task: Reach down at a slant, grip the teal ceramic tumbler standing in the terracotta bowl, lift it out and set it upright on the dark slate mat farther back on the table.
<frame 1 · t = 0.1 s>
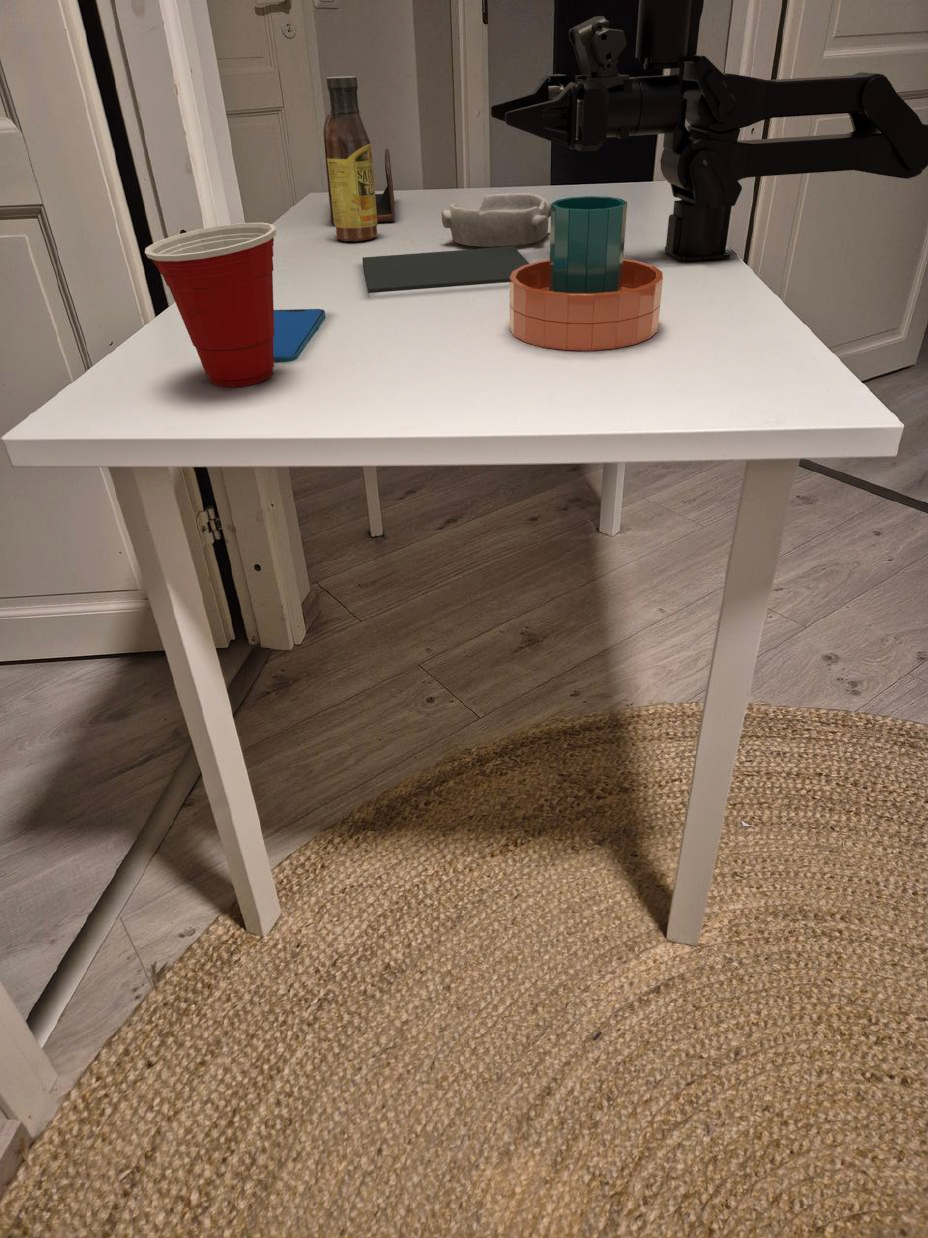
hand: (498, 114, 93), 17 cm above the table, tool horizontal, fingers open, 9 cm apart
letter holder: (365, 213, 137), on the table
dish: (501, 241, 116), on the table
mat: (447, 274, 102), on the table
sauce bottle: (357, 239, 121), on the table
bowl: (582, 333, 81), on the table
tumbler: (583, 326, 81), point 1 cm above the table, touching bowl
plastic cup: (239, 378, 75), on the table
smartphone: (278, 342, 84), on the table
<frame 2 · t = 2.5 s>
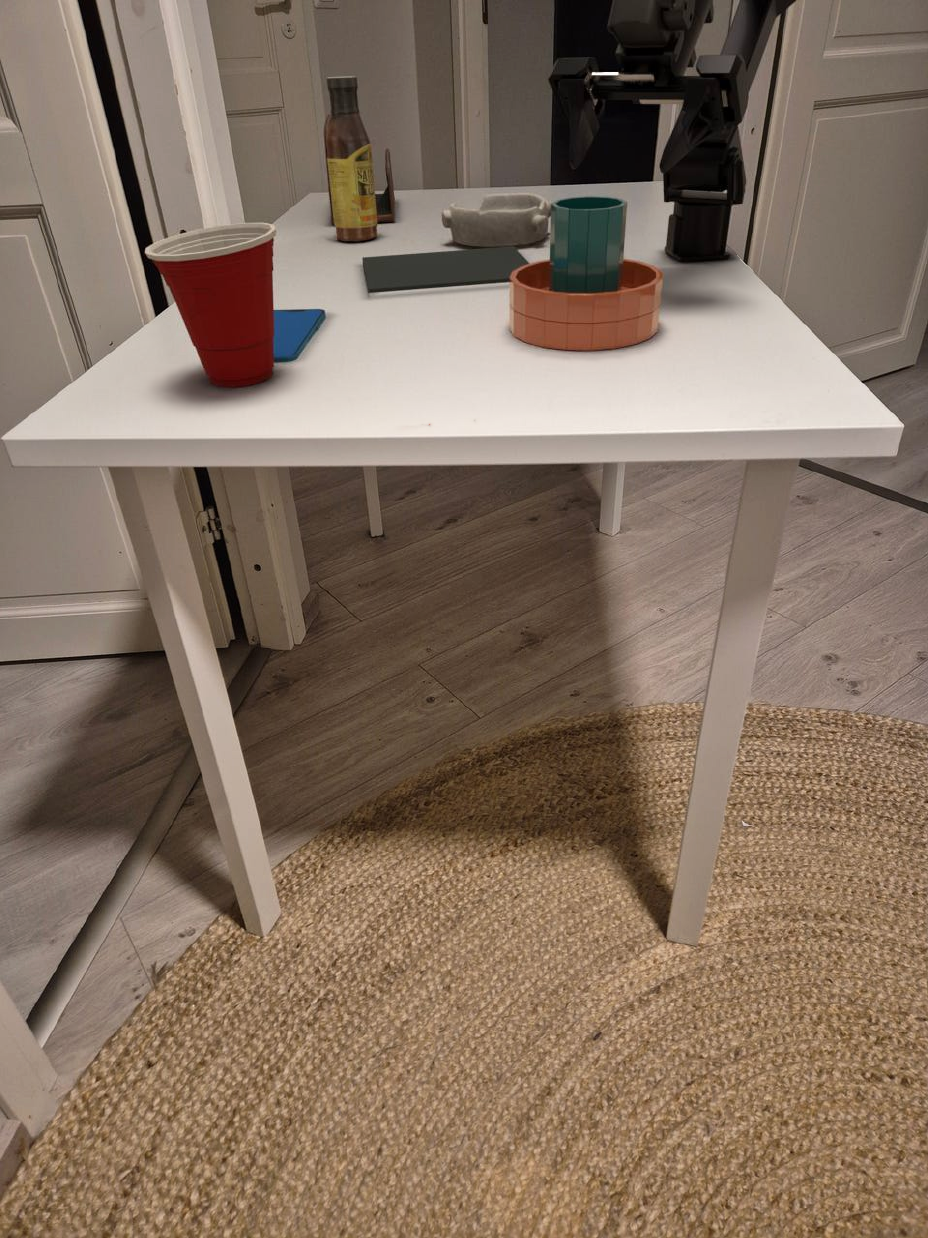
hand: (615, 167, 79), 13 cm above the table, tool tilted 45°, fingers open, 9 cm apart
nothing on the table moved.
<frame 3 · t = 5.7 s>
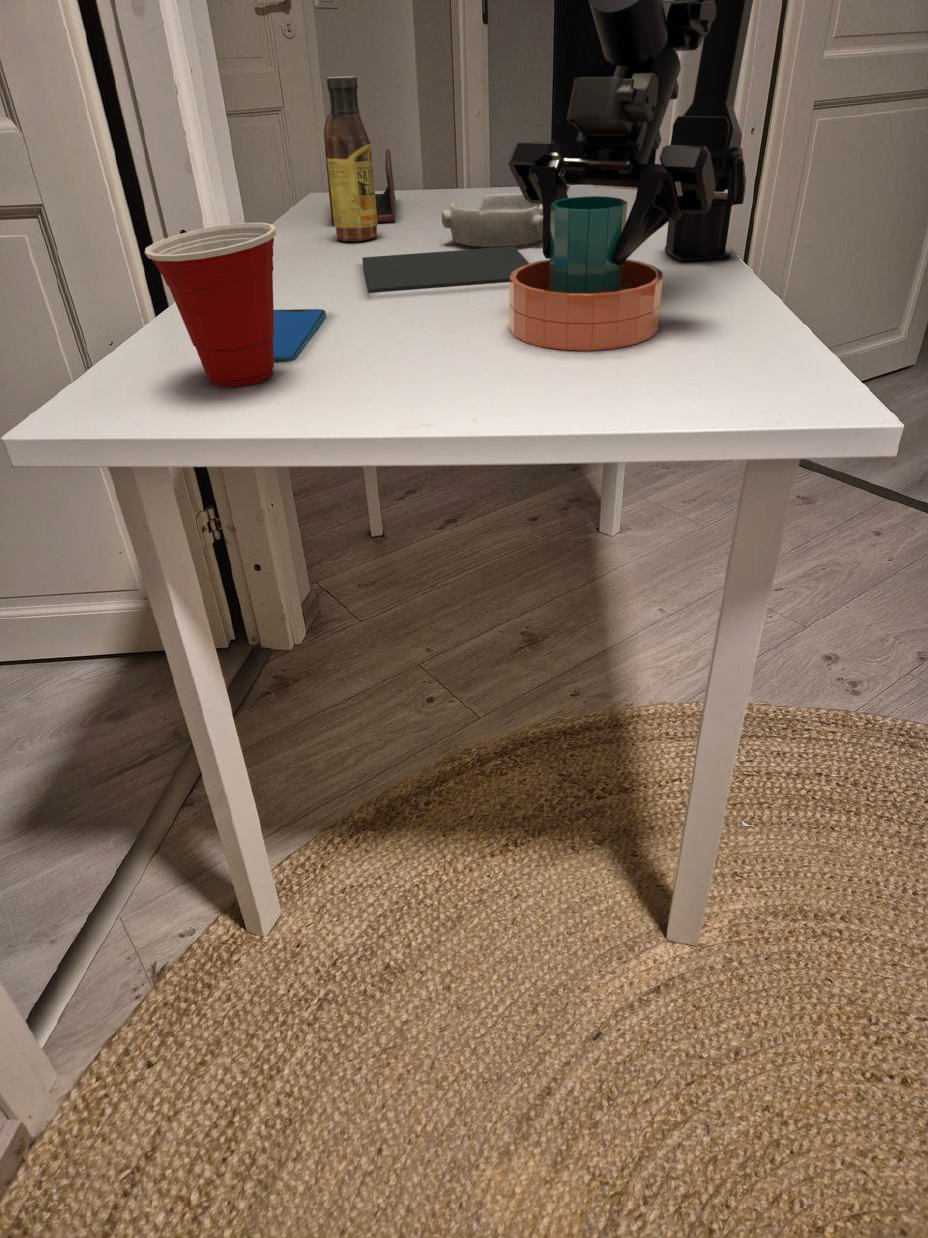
hand: (580, 259, 76), 7 cm above the table, tool tilted 45°, fingers closed on tumbler, 7 cm apart
tumbler: (583, 326, 81), point 1 cm above the table, touching bowl, gripper
everything else where it was.
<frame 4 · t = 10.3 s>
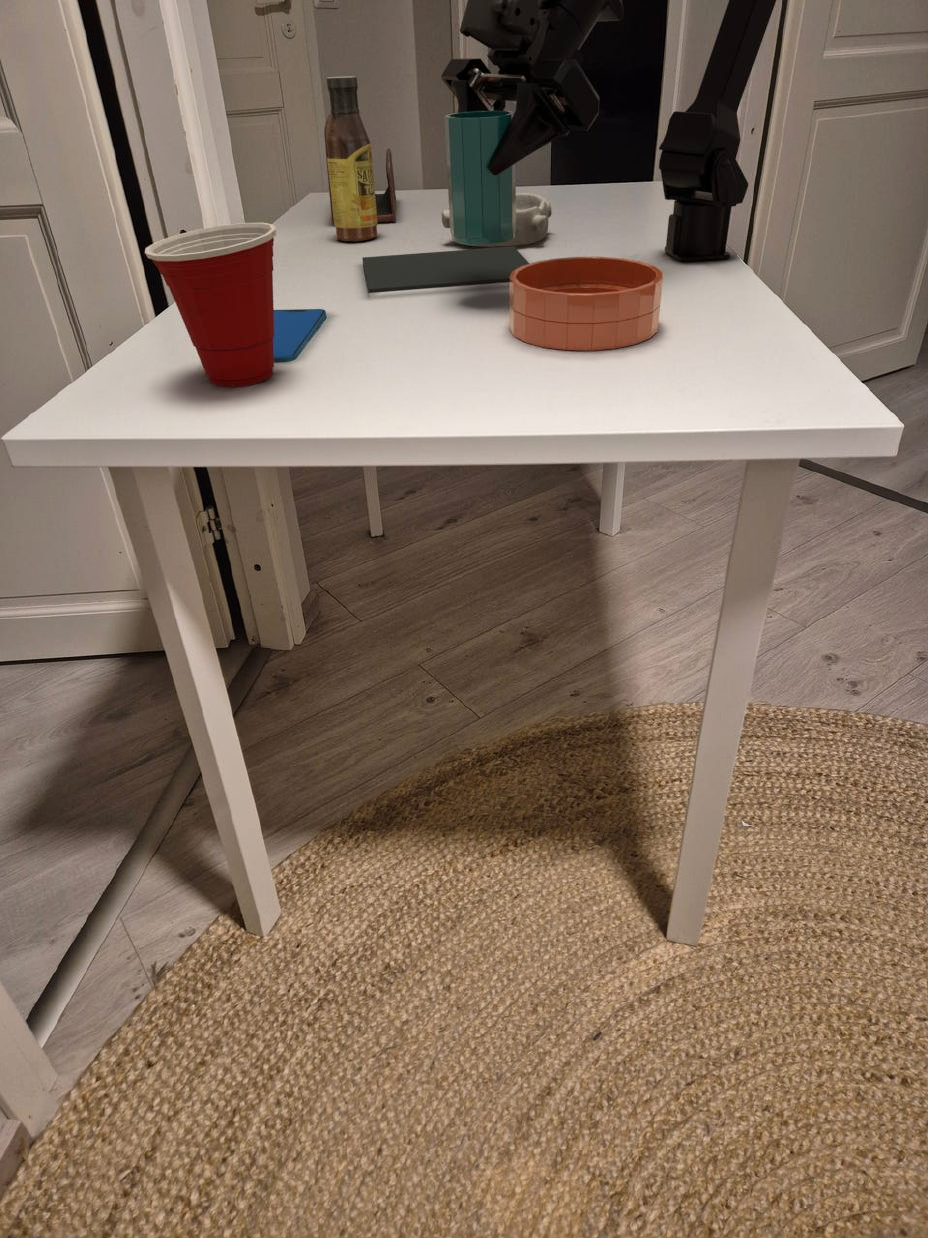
hand: (469, 168, 81), 13 cm above the table, tool tilted 45°, fingers closed on tumbler, 7 cm apart
tumbler: (483, 237, 86), point 7 cm above the table, touching gripper
everything else where it was.
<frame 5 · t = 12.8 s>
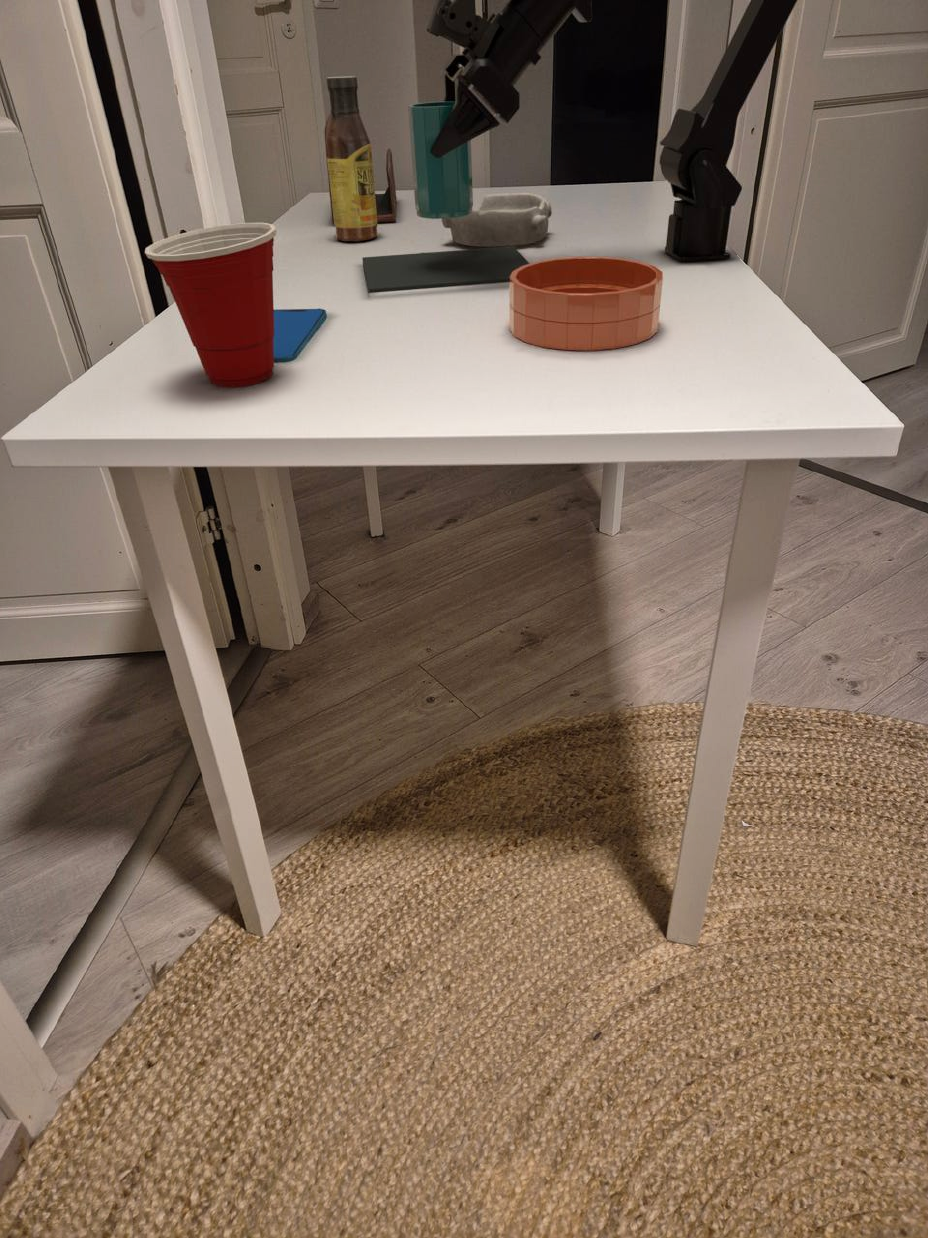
hand: (429, 150, 94), 13 cm above the table, tool tilted 45°, fingers closed on tumbler, 7 cm apart
tumbler: (444, 212, 98), point 7 cm above the table, touching gripper
everything else where it was.
when the fingers open (8 cm above the table, at t = 15.1 s): tumbler stays where it is, resting on mat.
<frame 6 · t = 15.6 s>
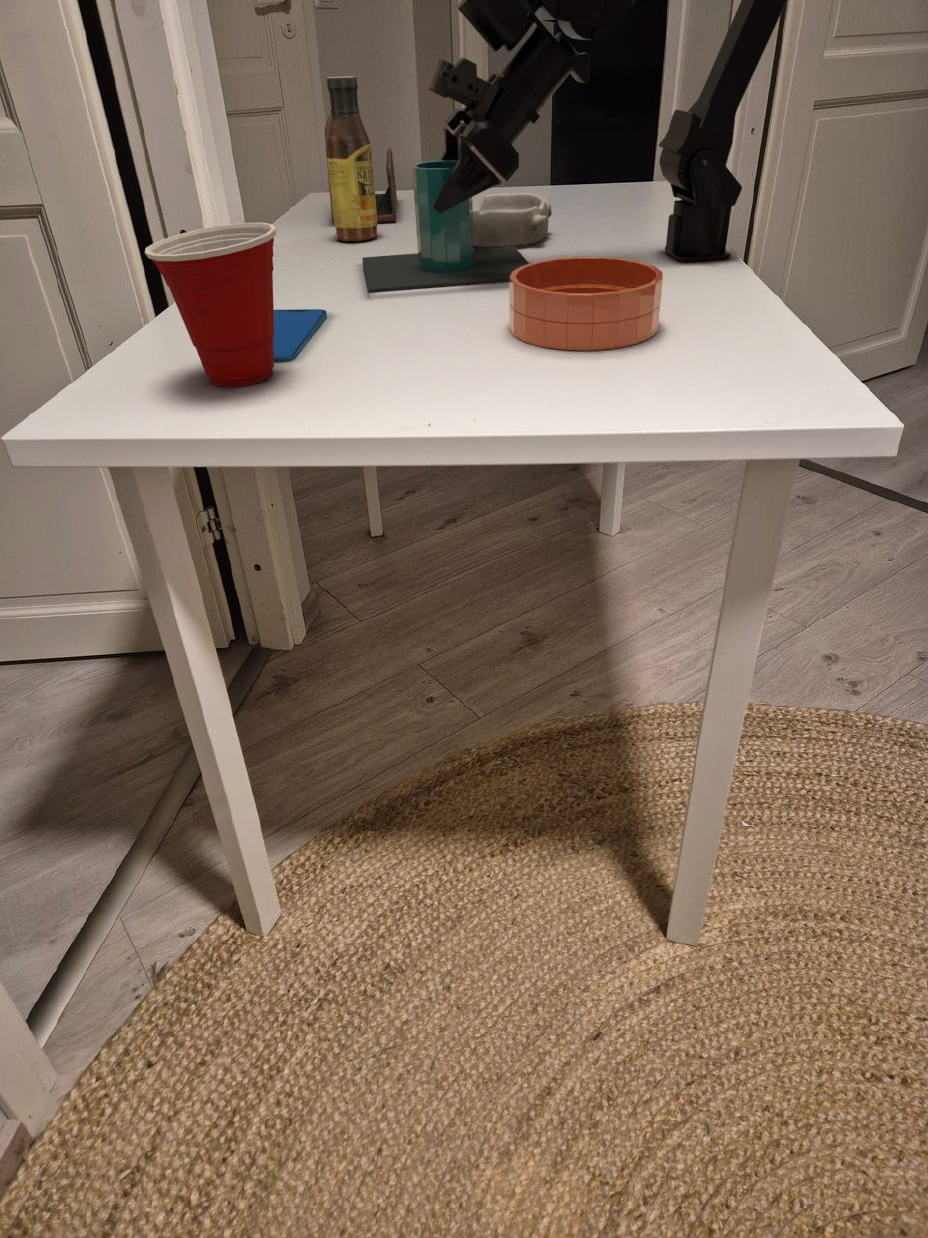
hand: (431, 203, 97), 8 cm above the table, tool tilted 45°, fingers open, 9 cm apart
tumbler: (446, 265, 101), point 1 cm above the table, touching mat
everything else where it was.
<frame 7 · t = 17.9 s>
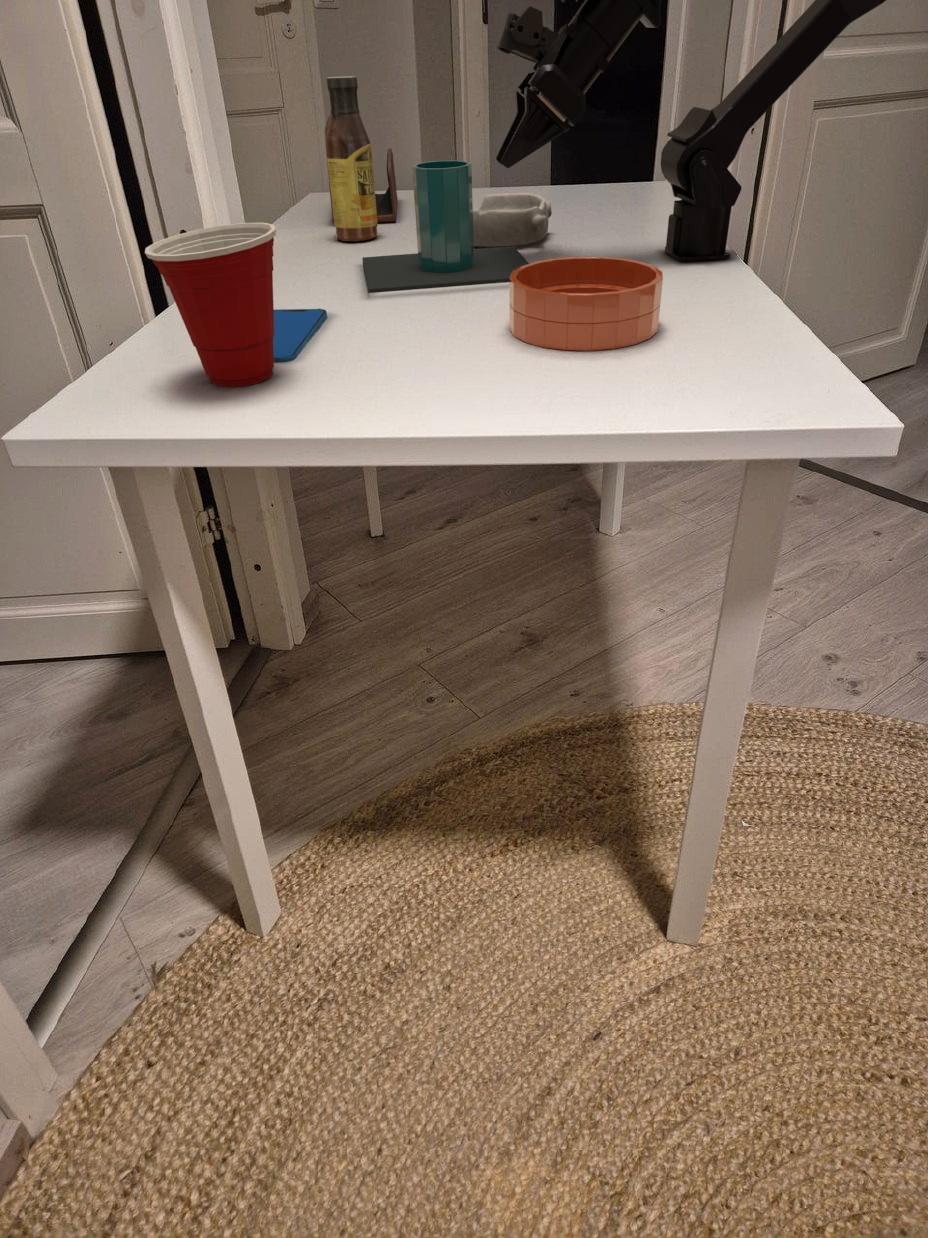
hand: (501, 163, 96), 12 cm above the table, tool tilted 40°, fingers open, 9 cm apart
nothing on the table moved.
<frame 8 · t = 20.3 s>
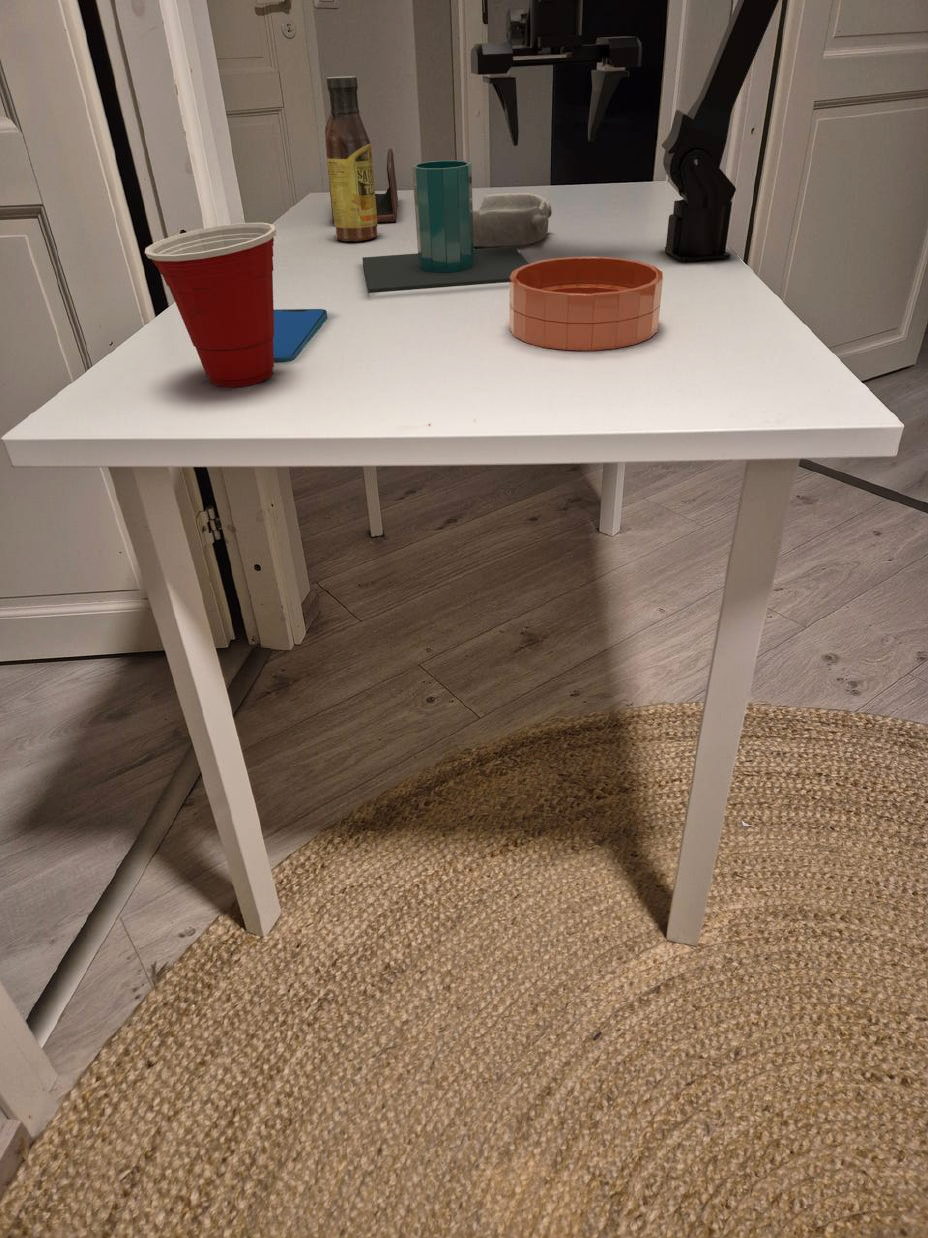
hand: (553, 142, 99), 13 cm above the table, tool pointing down, fingers open, 9 cm apart
nothing on the table moved.
at the end: tumbler inside the target area on the mat (0.1 cm from its centre), point 1.0 cm above the mat's base; tumbler tilted 0°; the gripper is holding nothing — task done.
